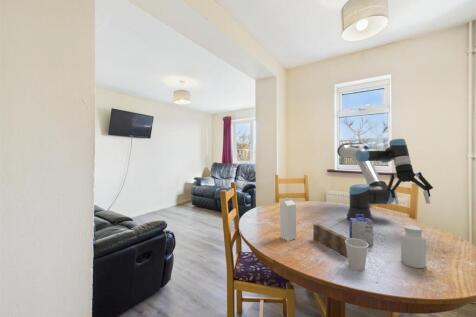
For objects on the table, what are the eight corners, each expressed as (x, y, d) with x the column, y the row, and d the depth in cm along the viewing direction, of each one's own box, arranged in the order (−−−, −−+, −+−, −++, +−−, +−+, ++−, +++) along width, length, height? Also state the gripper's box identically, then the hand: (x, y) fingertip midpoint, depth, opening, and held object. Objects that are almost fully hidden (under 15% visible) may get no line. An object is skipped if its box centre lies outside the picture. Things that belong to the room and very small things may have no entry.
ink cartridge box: (369, 241, 109) (369, 213, 109) (374, 246, 104) (374, 217, 103) (348, 240, 111) (348, 212, 111) (351, 245, 106) (351, 216, 105)
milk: (296, 239, 115) (296, 198, 114) (287, 241, 112) (287, 199, 111) (288, 235, 120) (288, 196, 119) (280, 237, 117) (279, 197, 116)
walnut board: (313, 239, 114) (313, 224, 114) (317, 238, 115) (317, 223, 114) (347, 258, 93) (346, 240, 93) (351, 257, 94) (351, 239, 94)
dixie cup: (359, 260, 91) (358, 237, 91) (373, 271, 83) (373, 246, 82) (340, 262, 90) (340, 238, 90) (353, 273, 82) (353, 247, 81)
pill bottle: (396, 259, 91) (396, 224, 91) (413, 258, 92) (413, 223, 92) (412, 269, 84) (413, 231, 83) (431, 268, 84) (432, 230, 84)
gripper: (379, 165, 120) (387, 203, 113) (433, 161, 112) (445, 202, 106) (375, 168, 127) (383, 205, 120) (427, 165, 119) (438, 203, 112)
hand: (412, 203), depth 113 cm, fingers open, 13 cm apart
